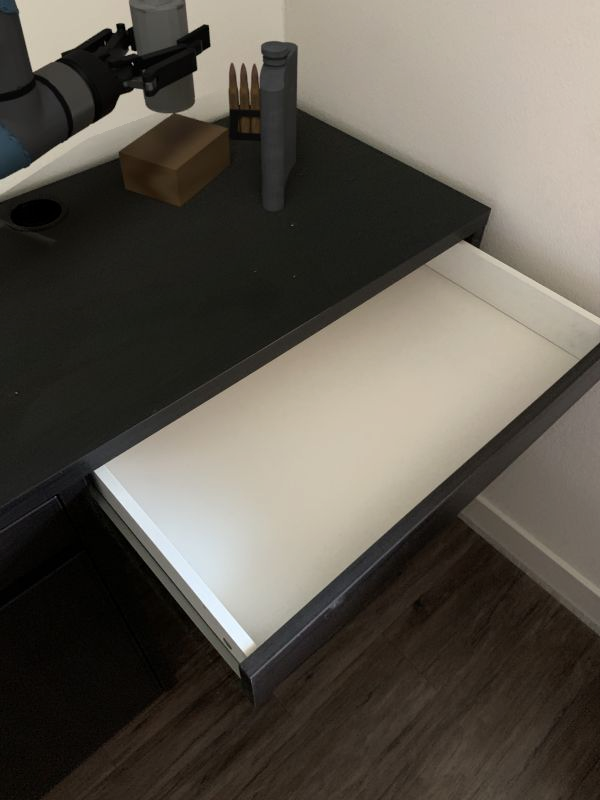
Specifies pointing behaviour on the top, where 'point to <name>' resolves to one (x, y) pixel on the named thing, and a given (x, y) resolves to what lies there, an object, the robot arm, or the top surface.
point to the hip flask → (277, 119)
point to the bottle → (157, 29)
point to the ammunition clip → (244, 105)
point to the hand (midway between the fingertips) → (183, 29)
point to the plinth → (175, 159)
